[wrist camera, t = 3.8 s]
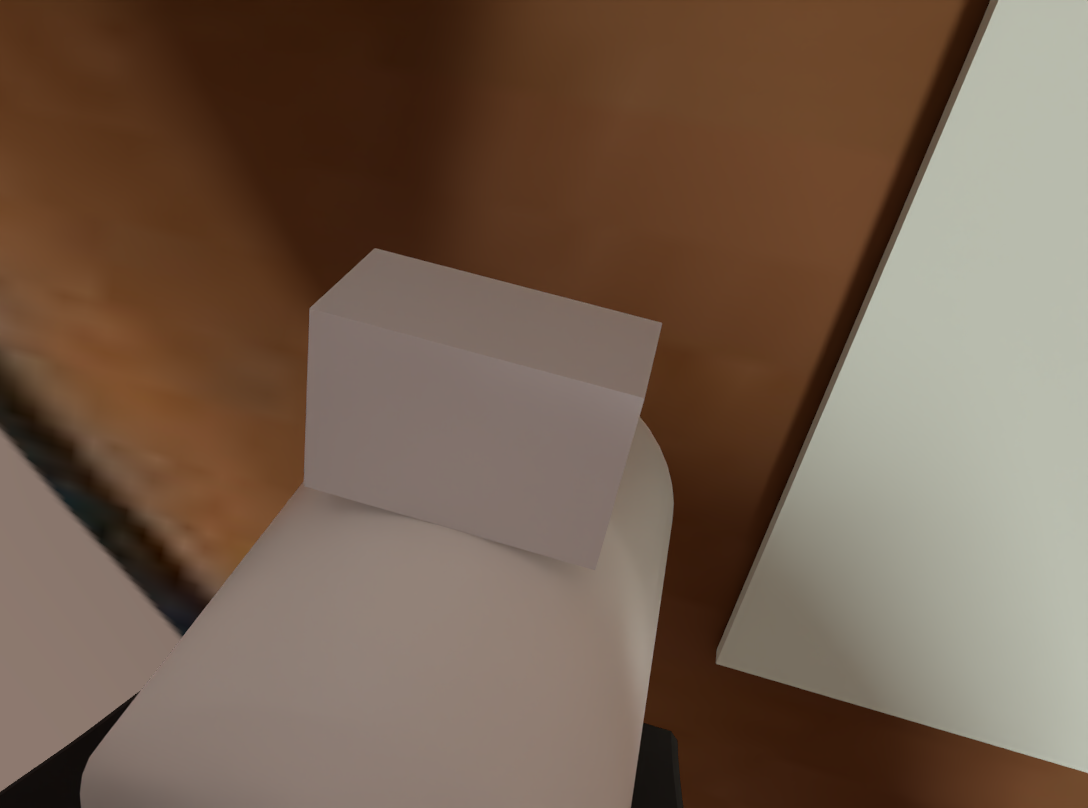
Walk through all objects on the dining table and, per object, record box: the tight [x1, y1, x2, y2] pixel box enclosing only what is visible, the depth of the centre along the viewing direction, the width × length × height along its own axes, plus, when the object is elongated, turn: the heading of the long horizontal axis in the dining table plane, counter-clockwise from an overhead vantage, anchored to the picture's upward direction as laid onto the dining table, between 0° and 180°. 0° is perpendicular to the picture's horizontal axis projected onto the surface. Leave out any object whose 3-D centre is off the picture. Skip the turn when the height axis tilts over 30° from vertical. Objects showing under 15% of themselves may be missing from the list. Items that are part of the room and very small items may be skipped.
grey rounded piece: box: [80, 248, 674, 808], centre depth 9 cm, size 11×4×5 cm, turn 170°
